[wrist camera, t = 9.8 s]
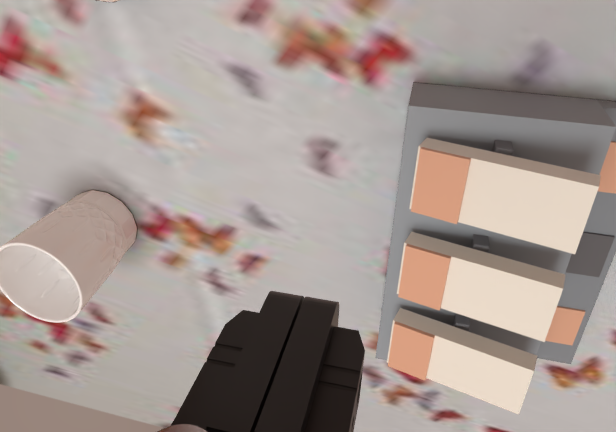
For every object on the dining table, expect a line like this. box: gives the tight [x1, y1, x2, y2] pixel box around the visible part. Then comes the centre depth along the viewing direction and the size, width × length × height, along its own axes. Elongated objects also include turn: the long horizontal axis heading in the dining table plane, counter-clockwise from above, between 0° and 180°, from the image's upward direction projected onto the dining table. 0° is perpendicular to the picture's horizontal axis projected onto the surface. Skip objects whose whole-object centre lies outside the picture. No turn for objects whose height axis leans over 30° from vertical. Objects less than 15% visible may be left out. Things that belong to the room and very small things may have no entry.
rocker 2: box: [397, 232, 565, 342], centre depth 35 cm, size 10×4×2 cm, turn 88°
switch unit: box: [376, 82, 616, 364], centre depth 39 cm, size 16×22×6 cm
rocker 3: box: [387, 308, 537, 414], centre depth 39 cm, size 10×4×2 cm, turn 88°
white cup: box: [0, 190, 137, 323], centre depth 46 cm, size 8×8×10 cm
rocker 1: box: [409, 138, 601, 254], centre depth 32 cm, size 10×4×2 cm, turn 88°
